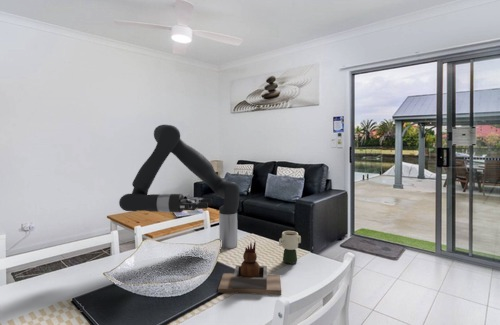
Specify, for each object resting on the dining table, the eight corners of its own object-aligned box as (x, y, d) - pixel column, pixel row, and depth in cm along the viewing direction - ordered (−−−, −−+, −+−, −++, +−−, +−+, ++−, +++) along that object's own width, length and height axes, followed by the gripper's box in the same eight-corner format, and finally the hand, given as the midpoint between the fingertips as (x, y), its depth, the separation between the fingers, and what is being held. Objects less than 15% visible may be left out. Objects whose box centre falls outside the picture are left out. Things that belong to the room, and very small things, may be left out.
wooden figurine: (261, 279, 106) (261, 240, 105) (255, 286, 101) (255, 245, 100) (245, 276, 109) (245, 237, 108) (238, 282, 104) (238, 242, 103)
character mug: (296, 257, 132) (296, 229, 131) (304, 263, 125) (305, 233, 124) (275, 261, 127) (275, 232, 127) (283, 267, 121) (283, 237, 120)
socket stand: (223, 276, 112) (223, 264, 112) (279, 278, 111) (280, 265, 110) (218, 292, 100) (218, 278, 100) (281, 294, 99) (281, 280, 98)
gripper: (164, 197, 109) (206, 197, 108) (176, 191, 124) (213, 191, 123) (164, 216, 110) (206, 217, 109) (176, 208, 124) (213, 208, 123)
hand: (209, 203), depth 116 cm, fingers open, 8 cm apart
